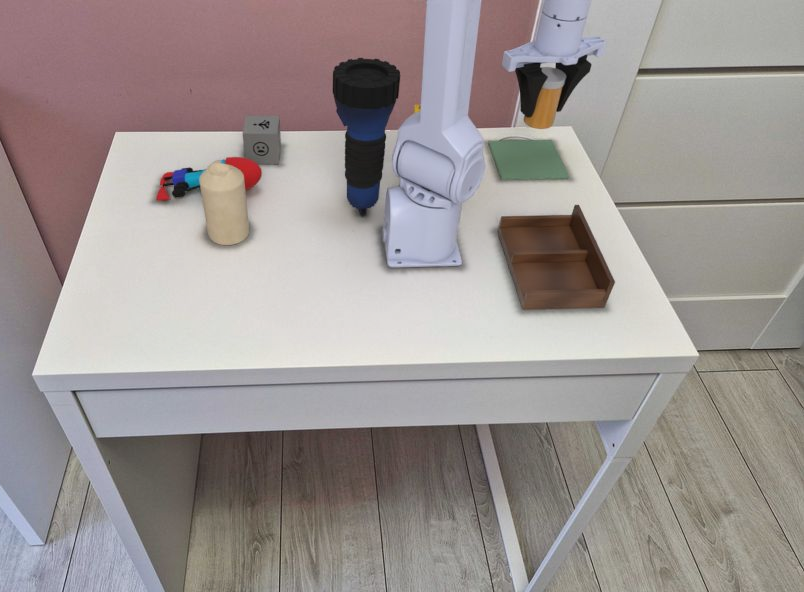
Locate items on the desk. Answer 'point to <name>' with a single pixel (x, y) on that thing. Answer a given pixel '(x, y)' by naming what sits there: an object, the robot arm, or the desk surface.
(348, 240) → the desk surface
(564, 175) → the green mat
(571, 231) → the tray
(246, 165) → the toy figure
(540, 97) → the disc
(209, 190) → the candle
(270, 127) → the dice cube
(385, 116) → the flashlight
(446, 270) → the desk surface
